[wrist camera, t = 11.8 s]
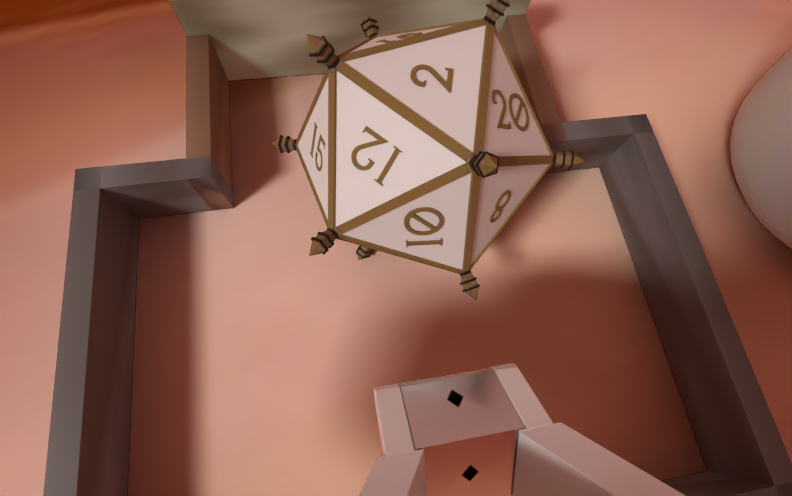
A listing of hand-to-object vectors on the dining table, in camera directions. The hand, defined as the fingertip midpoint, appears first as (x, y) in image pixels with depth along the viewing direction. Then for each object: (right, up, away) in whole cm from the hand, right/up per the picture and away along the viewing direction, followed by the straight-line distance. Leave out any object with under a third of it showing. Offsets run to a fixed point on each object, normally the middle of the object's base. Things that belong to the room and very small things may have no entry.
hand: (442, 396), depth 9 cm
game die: (-1, +5, +8) cm, 10 cm away
